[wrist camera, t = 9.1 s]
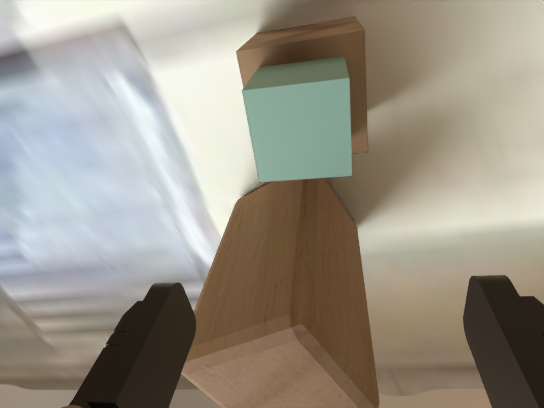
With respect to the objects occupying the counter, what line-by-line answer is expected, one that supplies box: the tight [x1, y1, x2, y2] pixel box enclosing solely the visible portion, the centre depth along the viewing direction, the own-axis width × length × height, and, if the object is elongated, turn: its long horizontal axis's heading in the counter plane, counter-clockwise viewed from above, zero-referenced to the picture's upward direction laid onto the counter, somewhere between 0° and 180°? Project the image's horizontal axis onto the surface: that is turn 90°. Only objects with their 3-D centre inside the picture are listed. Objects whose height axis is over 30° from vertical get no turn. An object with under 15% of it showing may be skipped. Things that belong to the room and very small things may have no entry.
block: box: [181, 178, 379, 408], centre depth 30 cm, size 10×10×20 cm
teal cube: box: [242, 57, 352, 182], centre depth 22 cm, size 6×6×6 cm
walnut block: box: [236, 17, 368, 154], centre depth 27 cm, size 8×8×8 cm
